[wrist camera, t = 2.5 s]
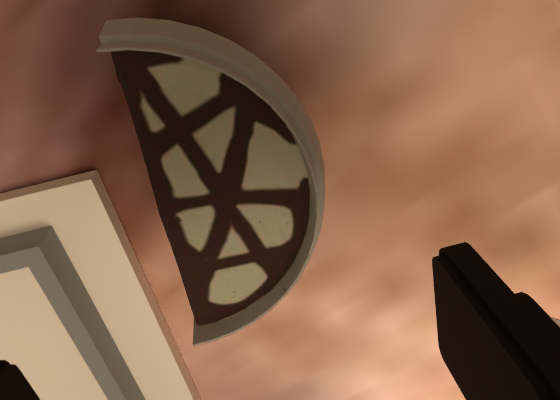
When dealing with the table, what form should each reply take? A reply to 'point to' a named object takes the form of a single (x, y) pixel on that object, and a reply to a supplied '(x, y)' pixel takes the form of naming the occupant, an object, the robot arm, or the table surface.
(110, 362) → the board
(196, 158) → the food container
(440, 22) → the table surface
